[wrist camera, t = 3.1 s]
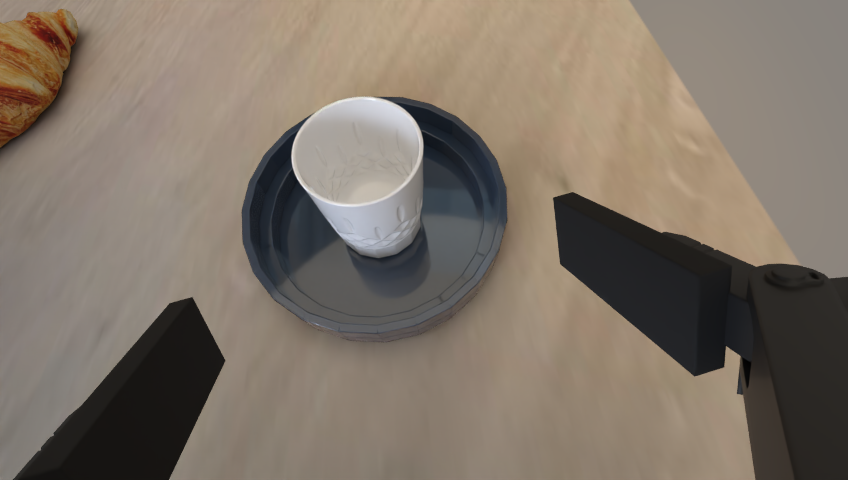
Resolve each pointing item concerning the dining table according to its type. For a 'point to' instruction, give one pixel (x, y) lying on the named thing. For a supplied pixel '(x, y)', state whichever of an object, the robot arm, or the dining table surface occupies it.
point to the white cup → (364, 172)
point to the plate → (392, 275)
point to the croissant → (32, 67)
